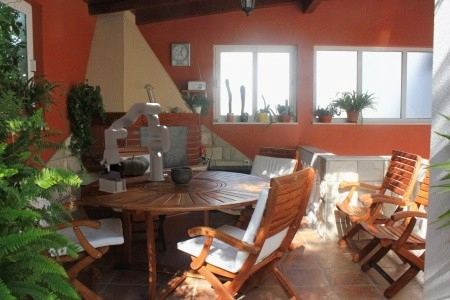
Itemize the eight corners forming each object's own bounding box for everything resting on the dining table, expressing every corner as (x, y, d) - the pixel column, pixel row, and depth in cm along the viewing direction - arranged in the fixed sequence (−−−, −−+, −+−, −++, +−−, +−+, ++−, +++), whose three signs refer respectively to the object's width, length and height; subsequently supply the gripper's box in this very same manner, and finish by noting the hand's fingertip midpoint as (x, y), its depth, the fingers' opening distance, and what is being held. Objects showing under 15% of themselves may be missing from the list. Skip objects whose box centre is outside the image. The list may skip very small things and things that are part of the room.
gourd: (152, 168, 360) (149, 150, 355) (149, 178, 336) (145, 158, 331) (124, 172, 359) (120, 153, 354) (118, 181, 335) (114, 161, 330)
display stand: (111, 187, 288) (111, 176, 287) (126, 191, 276) (126, 179, 275) (98, 190, 280) (98, 178, 279) (113, 193, 268) (113, 181, 268)
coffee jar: (120, 186, 294) (119, 161, 292) (107, 185, 296) (106, 161, 294) (127, 183, 305) (126, 159, 303) (114, 183, 307) (113, 159, 305)
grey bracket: (108, 179, 283) (108, 170, 282) (120, 181, 274) (120, 172, 273) (99, 180, 278) (99, 171, 277) (110, 182, 268) (110, 173, 268)
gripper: (119, 145, 284) (120, 170, 286) (96, 148, 271) (98, 173, 273) (125, 146, 279) (126, 171, 281) (102, 149, 266) (104, 174, 268)
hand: (112, 172), depth 277 cm, fingers open, 9 cm apart
